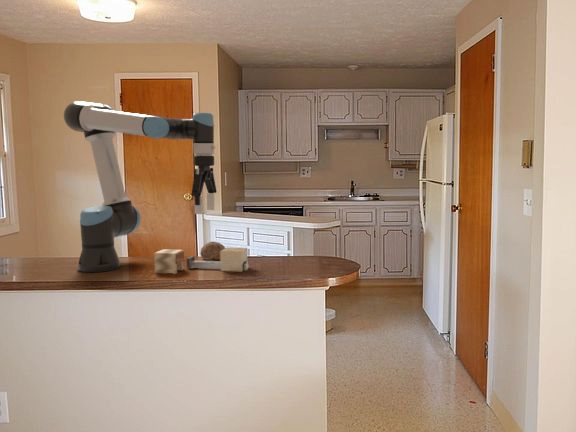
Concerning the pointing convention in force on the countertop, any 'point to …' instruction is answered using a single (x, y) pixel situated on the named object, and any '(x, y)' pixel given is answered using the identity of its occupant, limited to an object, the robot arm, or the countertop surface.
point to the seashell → (211, 251)
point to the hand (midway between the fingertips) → (204, 211)
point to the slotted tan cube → (169, 261)
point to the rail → (212, 265)
